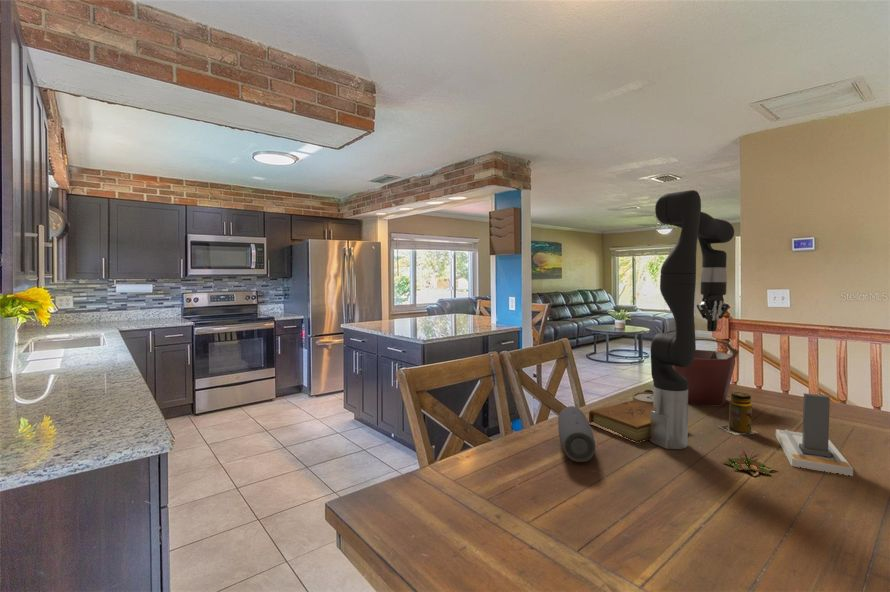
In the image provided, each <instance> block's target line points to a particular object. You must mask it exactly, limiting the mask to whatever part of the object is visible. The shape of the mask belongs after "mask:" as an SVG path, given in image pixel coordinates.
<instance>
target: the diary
mask: <svg viewBox="0 0 890 592" xmlns="http://www.w3.org/2000/svg"><path fill="white" fill-rule="evenodd" d="M651 411H653V405H650V404H647V403H643V402H640V401H636V400H633V399H632V400H630V401H625V402H620V403H616V404H613V405H609V406H604V407H600V408H596V409H593V410H592V409H591V410H590V411H588V423H589V422H590V423H591V422H594V423H596V424H598V425H600V426H602V427H605V428H607V429H610V430H612V431H614V432H617V433H619V434H621V435H622V436H623V437H626V438H628V439H630V440H633V441H635V442H640V441H643V440H646V441H648V440H647V439H649V440H650V437H651ZM630 440H629V441H630ZM633 441H632V442H633ZM635 442H634V443H635ZM643 442H644V441H643ZM640 443H641V442H640Z"/></svg>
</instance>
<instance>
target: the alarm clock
mask: <svg viewBox="0 0 890 592" xmlns="http://www.w3.org/2000/svg"><path fill="white" fill-rule="evenodd" d="M653 394H654V390H652V389H646V390H644V391H641V392H640V391H639V392H636V393H635V392H634V393H633V394H632V401H633V400H636V401H640V402H643V403H647V404H650V405H653Z"/></svg>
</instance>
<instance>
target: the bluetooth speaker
mask: <svg viewBox="0 0 890 592" xmlns="http://www.w3.org/2000/svg"><path fill="white" fill-rule="evenodd" d="M583 412H584V411H582V410H581V409H580V408H579V407H576V406H573V405H572V406H571V405H570V406H566V407H564V408H563V409H562V410H560V412H559V414H558V417H557V425H558V426H557V428H558V434H559V440H560V443H561V446H562V449H563V452H564V453H565V454H566V456H567V457H568V458H569V459H570V460H571V461H574V462H577V463H578V462H579V463H583V462H585V463H586V462H587V461H590V460H591V459H592V458H593V457H594V455H595V452H596V441H595V438H594V434H593V429H592V426H591V425H590V424H589V419H588V418H587V417H586V415H585V413H583Z"/></svg>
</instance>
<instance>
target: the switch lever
mask: <svg viewBox="0 0 890 592" xmlns="http://www.w3.org/2000/svg"><path fill="white" fill-rule="evenodd" d="M830 403H831V397H830V396H829V395H827V394H825V395H823V394H815V393H814V394H812V393H806V392H805V393H803V403H802V404H803V406H802V409H803V410H802V433H803V436H802V444H800V443H799V448H800V449H801V451H802V453H806V454H813V455H819V456H826V457H832V453H831V451H830V450H829V449H828V440H830V439H829V436H830V435H829V434H830V433H829V432H830V405H831V404H830Z"/></svg>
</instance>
